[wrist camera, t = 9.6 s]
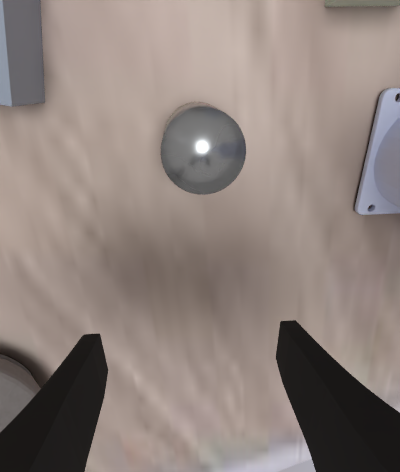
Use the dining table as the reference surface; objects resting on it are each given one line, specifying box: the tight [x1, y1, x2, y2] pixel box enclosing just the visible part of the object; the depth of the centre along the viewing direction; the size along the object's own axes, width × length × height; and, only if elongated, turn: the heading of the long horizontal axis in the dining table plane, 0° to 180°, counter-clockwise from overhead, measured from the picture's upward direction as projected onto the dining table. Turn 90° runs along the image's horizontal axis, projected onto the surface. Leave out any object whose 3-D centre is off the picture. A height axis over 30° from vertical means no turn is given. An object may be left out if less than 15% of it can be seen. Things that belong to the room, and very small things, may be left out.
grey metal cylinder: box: [161, 102, 246, 194], centre depth 16 cm, size 4×4×5 cm
